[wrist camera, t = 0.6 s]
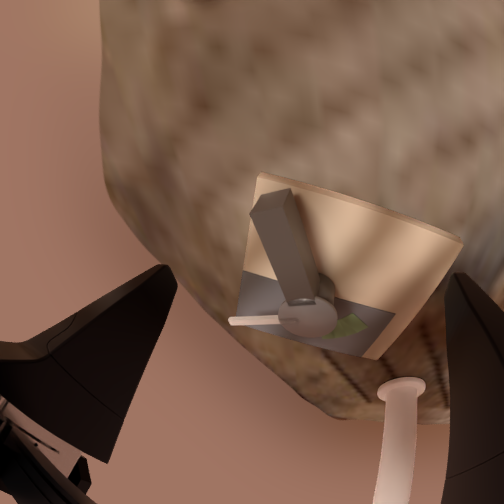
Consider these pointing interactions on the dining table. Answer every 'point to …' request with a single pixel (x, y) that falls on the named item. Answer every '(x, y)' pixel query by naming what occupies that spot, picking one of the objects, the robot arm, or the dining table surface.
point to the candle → (398, 440)
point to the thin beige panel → (352, 267)
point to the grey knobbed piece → (292, 269)
